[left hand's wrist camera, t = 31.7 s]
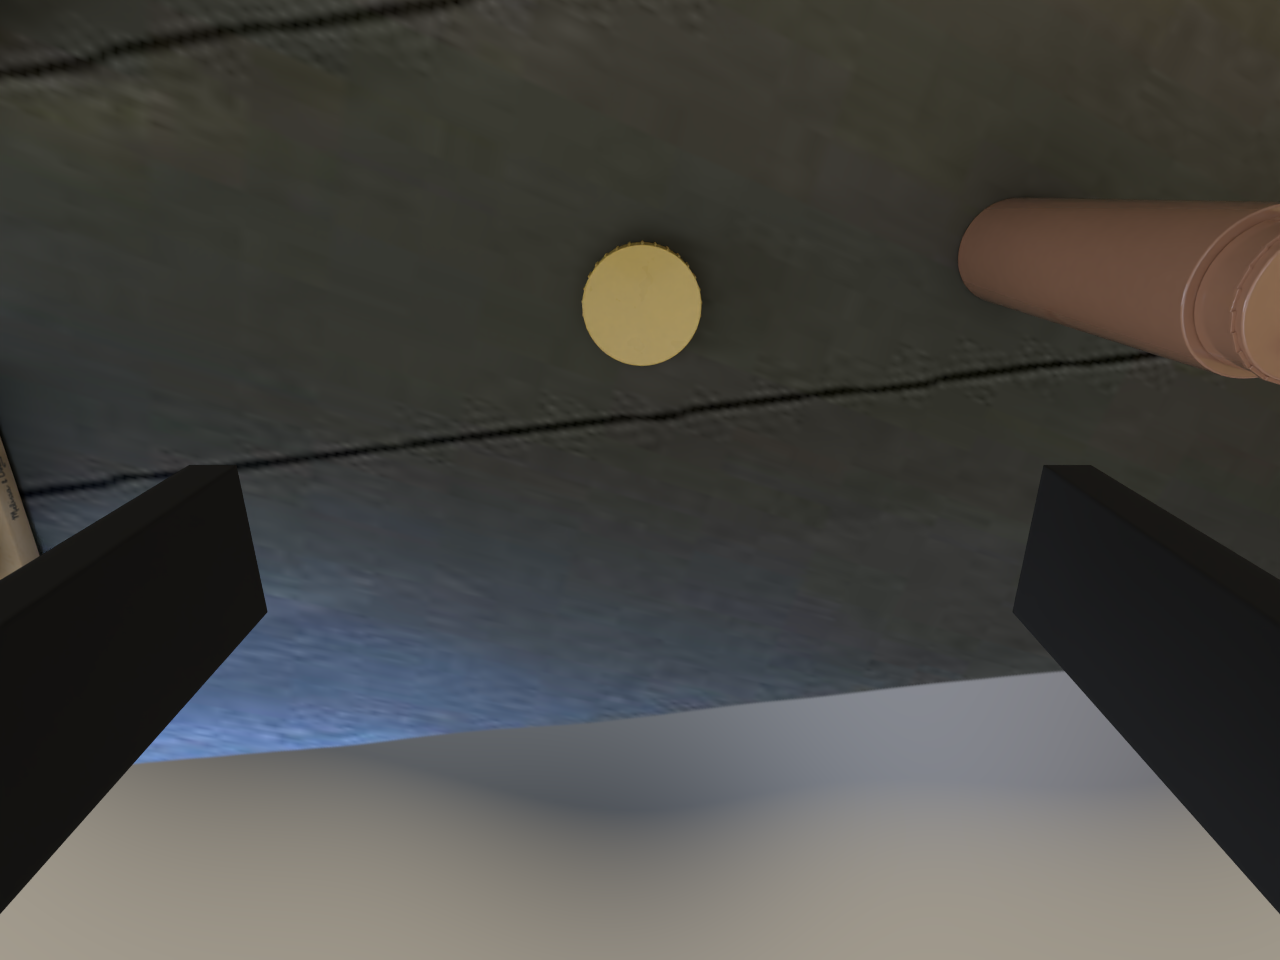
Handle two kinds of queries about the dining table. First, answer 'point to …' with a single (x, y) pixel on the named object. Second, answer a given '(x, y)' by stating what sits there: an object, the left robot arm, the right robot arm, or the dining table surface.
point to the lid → (641, 303)
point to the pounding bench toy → (13, 523)
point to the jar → (1140, 274)
